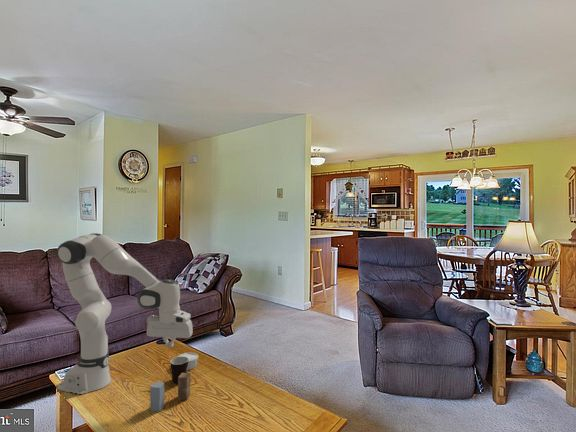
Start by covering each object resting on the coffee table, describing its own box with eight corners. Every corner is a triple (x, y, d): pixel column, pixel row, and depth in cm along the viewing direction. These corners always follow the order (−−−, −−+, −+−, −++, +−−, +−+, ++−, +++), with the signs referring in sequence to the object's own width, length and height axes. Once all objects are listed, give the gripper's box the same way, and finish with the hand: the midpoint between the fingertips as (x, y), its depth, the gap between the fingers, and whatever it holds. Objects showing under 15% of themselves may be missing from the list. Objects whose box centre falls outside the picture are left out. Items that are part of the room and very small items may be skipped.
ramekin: (201, 362, 178) (201, 353, 178) (192, 372, 167) (192, 362, 167) (182, 360, 180) (182, 351, 180) (172, 370, 169) (172, 360, 169)
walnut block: (177, 399, 143) (178, 377, 143) (181, 394, 147) (181, 372, 147) (186, 400, 143) (186, 377, 143) (190, 395, 147) (190, 373, 147)
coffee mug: (182, 386, 154) (182, 365, 154) (166, 384, 156) (166, 363, 156) (194, 374, 165) (194, 354, 165) (179, 372, 167) (179, 353, 167)
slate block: (150, 410, 135) (150, 387, 135) (155, 405, 139) (155, 382, 139) (159, 411, 134) (159, 387, 134) (164, 405, 138) (164, 382, 138)
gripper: (143, 317, 143) (143, 348, 143) (188, 319, 141) (188, 350, 141) (151, 312, 149) (151, 342, 149) (194, 314, 147) (194, 344, 147)
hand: (169, 346), depth 145 cm, fingers closed
